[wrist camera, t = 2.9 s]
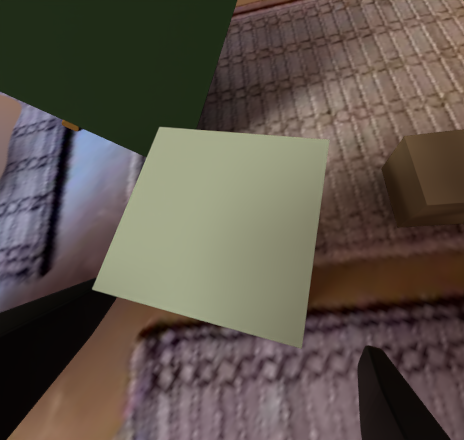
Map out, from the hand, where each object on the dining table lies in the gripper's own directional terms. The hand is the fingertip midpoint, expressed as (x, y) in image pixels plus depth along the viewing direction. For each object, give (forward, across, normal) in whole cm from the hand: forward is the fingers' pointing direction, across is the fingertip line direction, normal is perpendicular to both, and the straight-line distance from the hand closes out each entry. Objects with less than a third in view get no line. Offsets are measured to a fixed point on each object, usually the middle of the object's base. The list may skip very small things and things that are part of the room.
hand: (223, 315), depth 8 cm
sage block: (+8, 0, +5) cm, 10 cm away
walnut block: (+15, -11, -1) cm, 19 cm away
